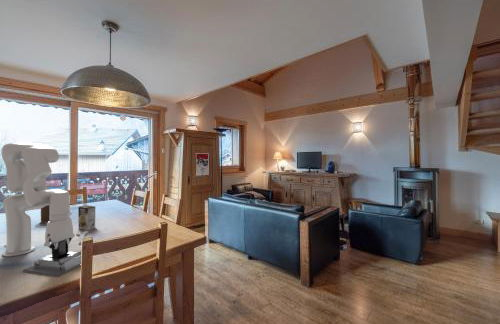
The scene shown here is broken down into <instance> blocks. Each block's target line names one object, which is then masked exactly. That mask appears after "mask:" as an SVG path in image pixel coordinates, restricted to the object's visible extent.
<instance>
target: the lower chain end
mask: <svg viewBox="0 0 500 324" xmlns="http://www.w3.org/2000/svg"><path fill="white" fill-rule="evenodd" d="M33 265H34V267H38V268H45V269H53V270H61V266H55V265H47V264H40V263H39V259H37V260H35V261H34V262H33Z"/></svg>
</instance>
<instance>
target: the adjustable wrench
mask: <svg viewBox="0 0 500 324" xmlns="http://www.w3.org/2000/svg"><path fill="white" fill-rule="evenodd" d="M88 234H89V230H84V231H83V232H81V231H78V232H77V233H76V234H75V236H77V237H79V240H78V245H82V244H81V240H82V239H83V238H84V239H85V236H86V235H88Z"/></svg>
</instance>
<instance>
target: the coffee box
mask: <svg viewBox="0 0 500 324" xmlns="http://www.w3.org/2000/svg"><path fill="white" fill-rule="evenodd" d="M77 208H78V229H79V230H84V231H89V230H92V229H95V228H96V206H94V205H81V206H78V207H77Z"/></svg>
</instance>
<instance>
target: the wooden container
mask: <svg viewBox="0 0 500 324" xmlns="http://www.w3.org/2000/svg"><path fill="white" fill-rule="evenodd" d="M49 221H50V212H49V205H48V206H45V207H43V208H40V223H41V224H47V223H48V222H49Z"/></svg>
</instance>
